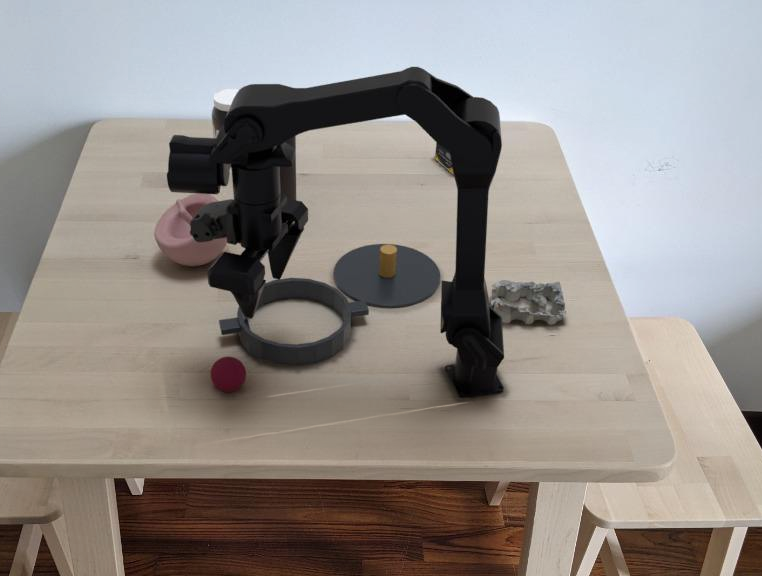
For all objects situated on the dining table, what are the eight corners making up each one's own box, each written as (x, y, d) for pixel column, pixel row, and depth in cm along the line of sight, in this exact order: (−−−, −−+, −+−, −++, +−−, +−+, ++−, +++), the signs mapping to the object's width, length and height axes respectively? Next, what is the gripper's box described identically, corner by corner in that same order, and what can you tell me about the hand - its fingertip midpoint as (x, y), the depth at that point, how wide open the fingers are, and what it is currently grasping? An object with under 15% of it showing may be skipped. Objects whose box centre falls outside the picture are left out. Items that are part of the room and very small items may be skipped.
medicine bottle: (434, 159, 173) (440, 99, 165) (465, 151, 176) (473, 92, 168) (453, 176, 169) (461, 115, 161) (486, 168, 171) (495, 107, 163)
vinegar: (302, 216, 158) (301, 107, 145) (265, 223, 156) (261, 114, 143) (288, 197, 163) (286, 90, 150) (252, 204, 161) (247, 96, 148)
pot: (381, 356, 130) (382, 335, 128) (230, 378, 127) (228, 357, 124) (352, 290, 142) (353, 269, 139) (213, 308, 139) (211, 287, 136)
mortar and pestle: (150, 247, 151) (142, 186, 143) (219, 233, 154) (215, 173, 147) (168, 287, 143) (160, 224, 135) (241, 271, 146) (237, 209, 138)
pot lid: (454, 303, 140) (458, 272, 136) (348, 317, 137) (349, 287, 133) (421, 243, 152) (423, 214, 148) (322, 256, 149) (323, 226, 145)
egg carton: (490, 326, 135) (494, 304, 133) (488, 296, 141) (491, 274, 138) (563, 330, 134) (568, 308, 132) (558, 300, 140) (563, 278, 137)
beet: (251, 394, 124) (245, 368, 121) (216, 402, 123) (210, 376, 120) (245, 372, 127) (239, 346, 124) (211, 379, 127) (205, 353, 124)
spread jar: (210, 145, 178) (205, 88, 170) (266, 137, 180) (264, 80, 172) (224, 174, 169) (220, 115, 161) (283, 165, 172) (281, 107, 164)
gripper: (229, 148, 119) (237, 248, 130) (161, 219, 106) (176, 324, 117) (308, 162, 116) (310, 264, 127) (248, 237, 103) (255, 344, 114)
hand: (263, 297), depth 121 cm, fingers open, 9 cm apart
